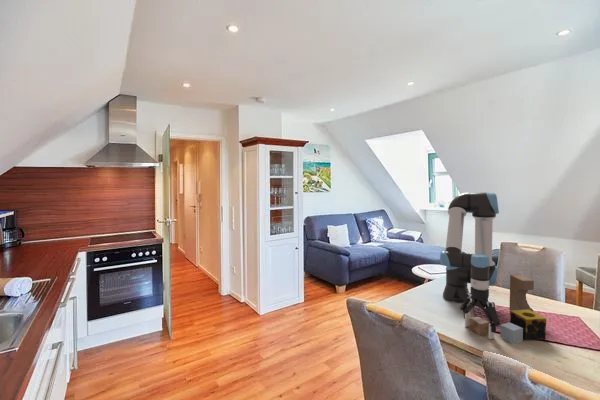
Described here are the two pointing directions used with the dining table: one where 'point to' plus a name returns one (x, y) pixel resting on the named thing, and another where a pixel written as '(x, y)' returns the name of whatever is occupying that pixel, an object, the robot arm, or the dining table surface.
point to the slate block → (511, 333)
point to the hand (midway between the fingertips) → (478, 332)
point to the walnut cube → (479, 326)
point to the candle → (529, 324)
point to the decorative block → (519, 292)
